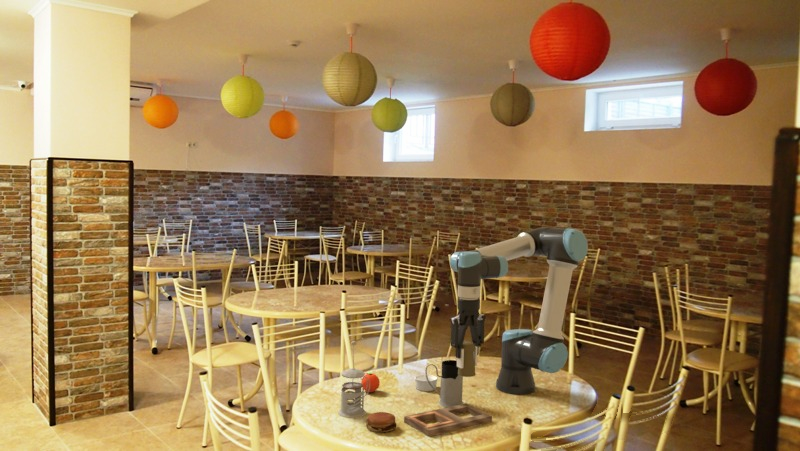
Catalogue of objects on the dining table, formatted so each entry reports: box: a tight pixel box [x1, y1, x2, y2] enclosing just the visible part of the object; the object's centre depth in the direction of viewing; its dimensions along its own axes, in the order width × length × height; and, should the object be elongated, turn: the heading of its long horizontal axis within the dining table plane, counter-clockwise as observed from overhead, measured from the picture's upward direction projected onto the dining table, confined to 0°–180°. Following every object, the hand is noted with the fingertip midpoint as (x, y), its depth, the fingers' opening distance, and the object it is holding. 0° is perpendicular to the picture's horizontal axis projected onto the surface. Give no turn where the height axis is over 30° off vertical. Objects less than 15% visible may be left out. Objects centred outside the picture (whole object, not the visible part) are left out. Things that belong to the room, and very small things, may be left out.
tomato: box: [360, 372, 381, 393], centre depth 245 cm, size 8×7×7 cm
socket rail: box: [403, 403, 493, 437], centre depth 215 cm, size 26×14×2 cm, turn 123°
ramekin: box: [414, 373, 438, 392], centre depth 250 cm, size 9×9×4 cm
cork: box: [458, 340, 477, 378], centre depth 218 cm, size 6×6×11 cm
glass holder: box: [425, 359, 464, 408], centre depth 234 cm, size 9×14×15 cm, turn 73°
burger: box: [366, 411, 398, 433], centre depth 208 cm, size 10×9×5 cm
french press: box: [337, 340, 370, 419], centre depth 221 cm, size 10×12×25 cm
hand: (466, 366), depth 218 cm, fingers closed on cork, 5 cm apart
